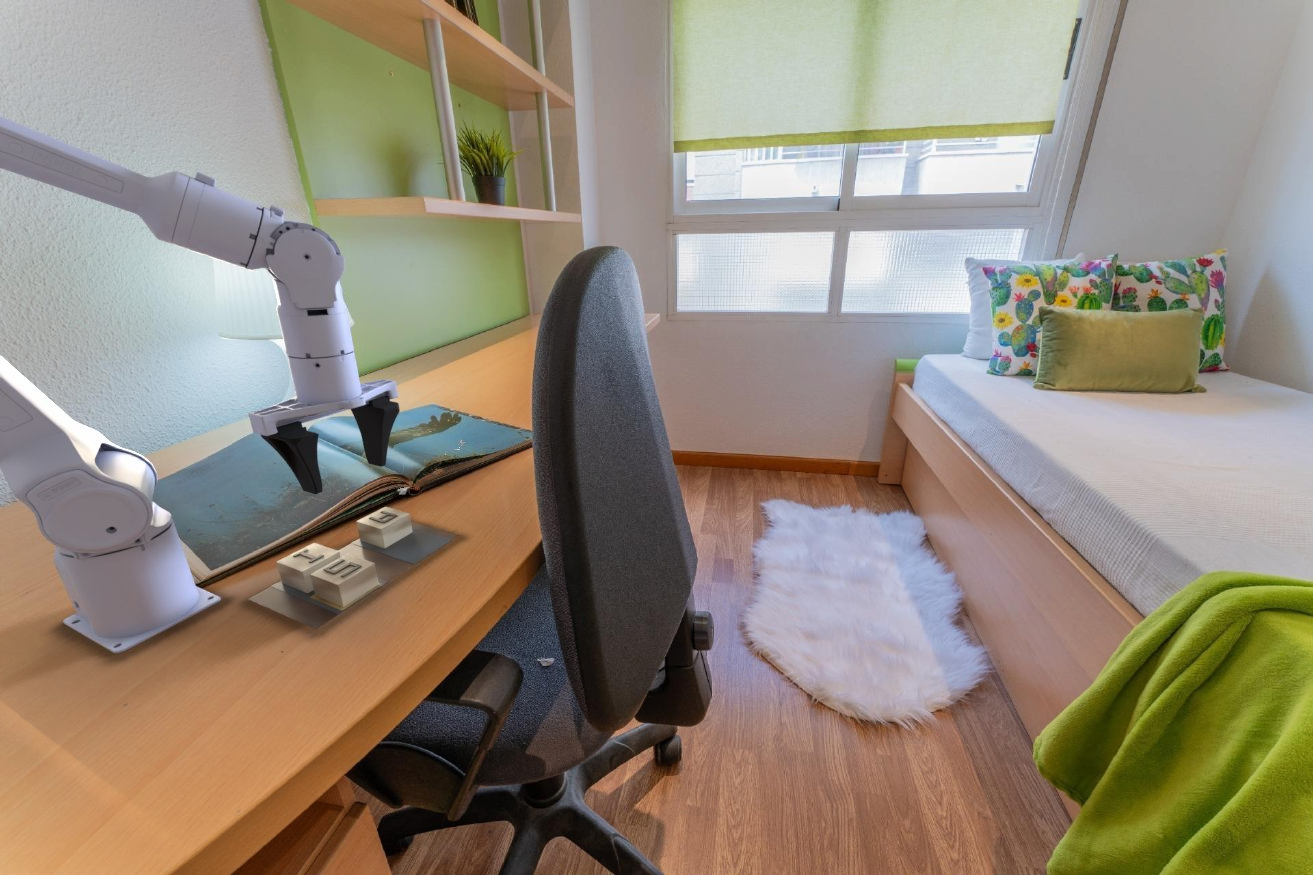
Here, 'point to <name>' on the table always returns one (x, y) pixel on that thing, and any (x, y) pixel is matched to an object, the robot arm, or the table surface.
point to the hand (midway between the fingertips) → (346, 477)
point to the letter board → (386, 560)
